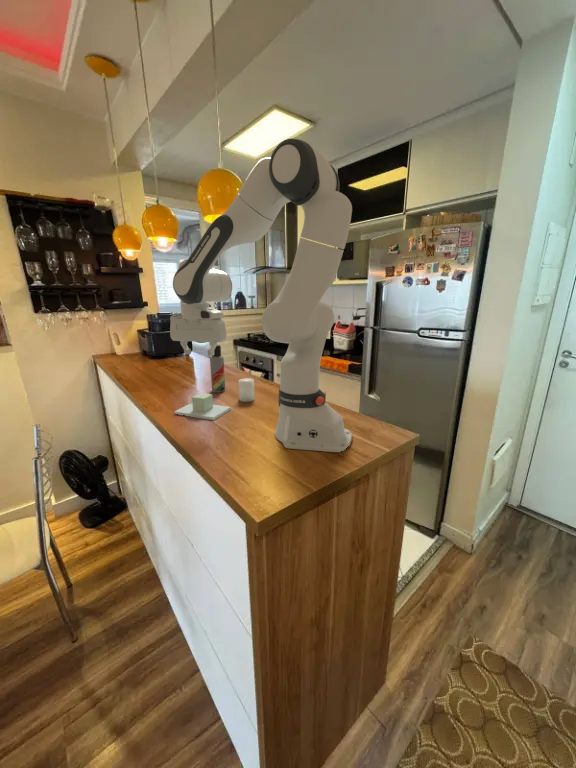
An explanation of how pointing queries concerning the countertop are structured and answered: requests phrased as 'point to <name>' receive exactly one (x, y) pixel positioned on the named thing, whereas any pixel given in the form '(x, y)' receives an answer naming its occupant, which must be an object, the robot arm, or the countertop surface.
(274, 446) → the countertop surface
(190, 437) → the countertop surface
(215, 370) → the lotion bottle
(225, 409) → the tray
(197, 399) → the sage block
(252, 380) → the white rounded cylinder
